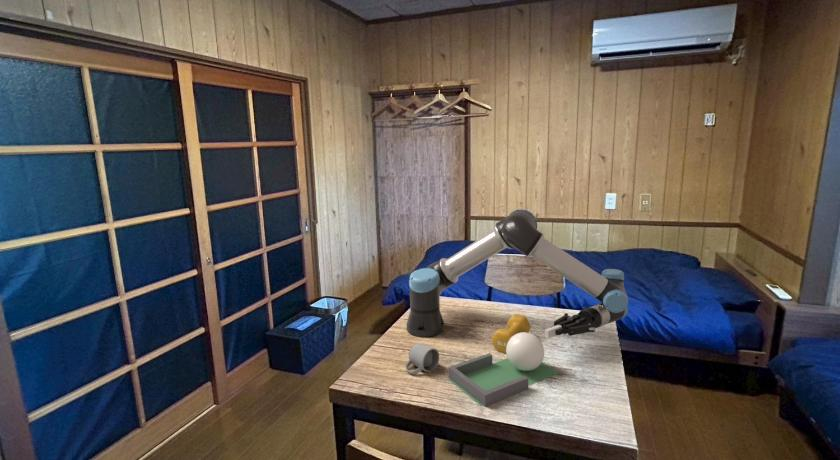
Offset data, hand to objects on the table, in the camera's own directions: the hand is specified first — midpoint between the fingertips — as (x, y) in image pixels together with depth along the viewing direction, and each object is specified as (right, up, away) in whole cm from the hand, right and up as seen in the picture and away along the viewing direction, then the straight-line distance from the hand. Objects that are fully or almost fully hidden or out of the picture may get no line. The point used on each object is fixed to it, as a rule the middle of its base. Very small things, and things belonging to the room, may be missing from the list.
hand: (546, 334), depth 142 cm
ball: (-8, -5, -4) cm, 10 cm away
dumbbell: (-8, -7, +15) cm, 19 cm away
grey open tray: (-21, -12, -10) cm, 26 cm away
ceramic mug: (-42, -12, 0) cm, 43 cm away
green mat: (-15, -12, -7) cm, 20 cm away
